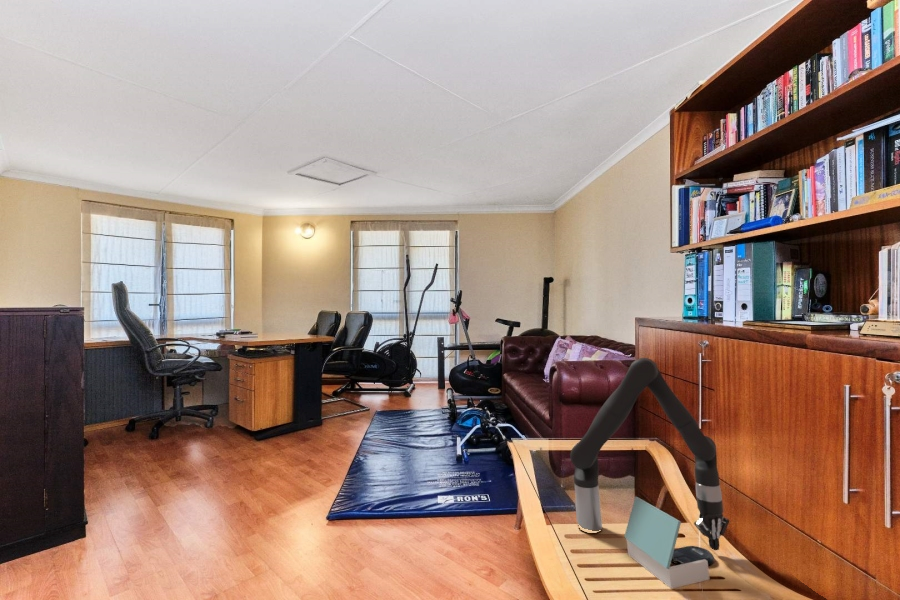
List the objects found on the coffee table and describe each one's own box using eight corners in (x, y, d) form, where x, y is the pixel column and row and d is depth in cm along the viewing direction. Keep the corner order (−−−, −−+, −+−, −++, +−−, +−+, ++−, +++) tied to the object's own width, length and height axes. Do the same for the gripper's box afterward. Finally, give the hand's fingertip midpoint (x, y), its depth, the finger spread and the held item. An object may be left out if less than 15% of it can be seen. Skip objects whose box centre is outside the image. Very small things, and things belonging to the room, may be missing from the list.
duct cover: (626, 537, 138) (624, 536, 138) (637, 497, 141) (635, 496, 140) (669, 569, 119) (666, 568, 119) (681, 521, 122) (678, 520, 122)
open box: (628, 554, 138) (626, 538, 138) (662, 547, 141) (660, 531, 141) (671, 588, 119) (669, 569, 119) (709, 579, 122) (707, 560, 122)
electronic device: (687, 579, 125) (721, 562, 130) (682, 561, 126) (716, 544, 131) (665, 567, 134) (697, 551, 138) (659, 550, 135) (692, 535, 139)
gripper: (714, 489, 141) (720, 540, 140) (684, 495, 138) (689, 546, 137) (734, 497, 134) (740, 551, 132) (702, 503, 131) (708, 558, 129)
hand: (714, 548), depth 135 cm, fingers closed
